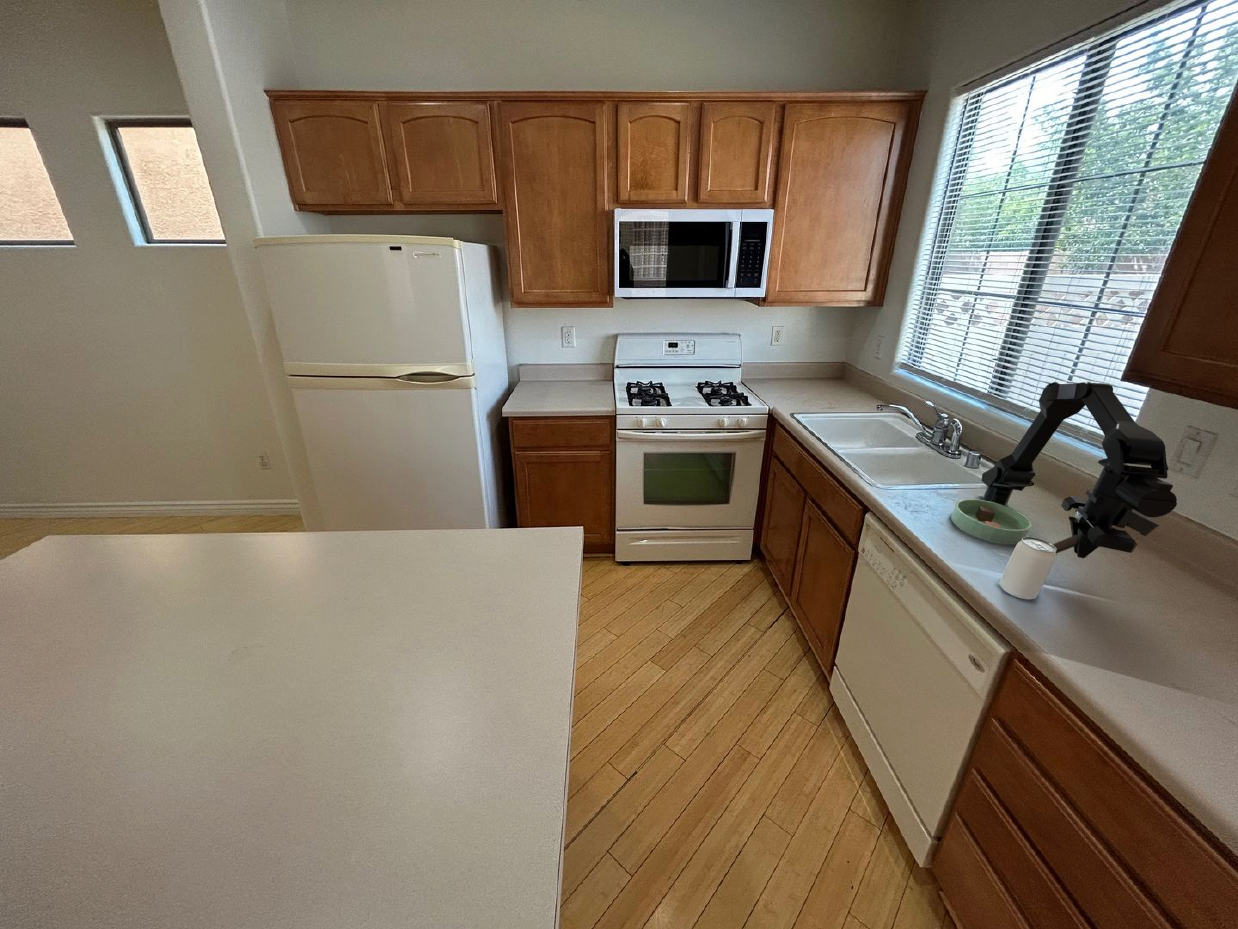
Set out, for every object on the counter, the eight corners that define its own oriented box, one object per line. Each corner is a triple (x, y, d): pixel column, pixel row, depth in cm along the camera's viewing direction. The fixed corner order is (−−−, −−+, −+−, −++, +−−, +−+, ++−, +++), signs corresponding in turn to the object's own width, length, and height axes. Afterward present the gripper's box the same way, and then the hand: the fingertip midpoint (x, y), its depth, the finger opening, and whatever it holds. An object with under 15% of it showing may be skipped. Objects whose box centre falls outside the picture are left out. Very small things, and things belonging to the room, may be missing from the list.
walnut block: (975, 515, 131) (979, 505, 129) (988, 517, 130) (992, 508, 128) (978, 520, 128) (982, 510, 127) (991, 522, 127) (995, 513, 126)
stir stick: (1018, 559, 111) (1077, 535, 104) (1023, 567, 110) (1084, 543, 103) (1016, 558, 110) (1075, 534, 103) (1022, 566, 109) (1082, 542, 102)
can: (1022, 582, 105) (1044, 536, 100) (1043, 602, 99) (1068, 554, 94) (991, 580, 105) (1012, 534, 100) (1010, 599, 99) (1033, 552, 94)
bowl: (946, 508, 135) (951, 494, 133) (1014, 521, 129) (1021, 507, 127) (956, 535, 122) (962, 520, 120) (1033, 552, 116) (1041, 537, 114)
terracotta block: (981, 530, 123) (985, 520, 122) (995, 533, 122) (999, 523, 121) (982, 536, 121) (986, 526, 120) (997, 539, 120) (1001, 529, 118)
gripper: (1191, 523, 87) (1149, 591, 94) (1140, 483, 103) (1107, 543, 109) (1113, 509, 91) (1078, 575, 98) (1075, 472, 107) (1047, 531, 113)
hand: (1079, 555), depth 104 cm, fingers closed on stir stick, 1 cm apart
